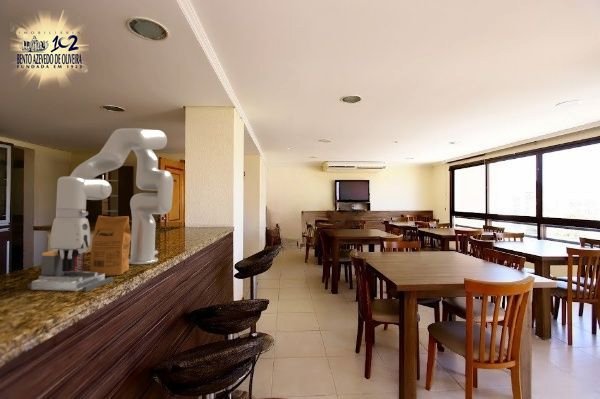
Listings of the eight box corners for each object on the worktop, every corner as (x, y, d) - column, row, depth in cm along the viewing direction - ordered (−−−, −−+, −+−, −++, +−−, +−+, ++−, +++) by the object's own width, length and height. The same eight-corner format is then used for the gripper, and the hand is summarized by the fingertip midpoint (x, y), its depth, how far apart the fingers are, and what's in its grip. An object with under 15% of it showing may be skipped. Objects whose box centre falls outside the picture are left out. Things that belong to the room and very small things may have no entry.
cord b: (56, 279, 97) (56, 276, 97) (60, 279, 97) (60, 276, 97) (27, 288, 87) (28, 284, 87) (31, 288, 87) (31, 284, 87)
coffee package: (98, 270, 111) (101, 214, 111) (132, 270, 113) (135, 215, 113) (83, 276, 101) (86, 216, 101) (120, 276, 103) (123, 216, 103)
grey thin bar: (110, 280, 97) (110, 277, 97) (113, 280, 97) (113, 277, 97) (82, 291, 85) (82, 287, 85) (86, 291, 85) (86, 287, 85)
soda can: (69, 278, 98) (71, 244, 99) (53, 276, 100) (55, 243, 100) (88, 273, 105) (89, 241, 106) (73, 272, 107) (74, 240, 107)
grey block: (52, 274, 94) (53, 250, 94) (64, 274, 94) (65, 251, 94) (40, 277, 90) (42, 252, 90) (53, 277, 90) (54, 253, 90)
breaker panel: (65, 279, 98) (65, 269, 98) (104, 280, 97) (105, 270, 97) (31, 289, 86) (31, 278, 86) (76, 290, 85) (76, 279, 85)
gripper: (101, 214, 96) (99, 268, 95) (58, 213, 96) (56, 267, 95) (84, 215, 88) (82, 274, 88) (37, 214, 88) (35, 272, 88)
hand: (68, 270), depth 92 cm, fingers closed
